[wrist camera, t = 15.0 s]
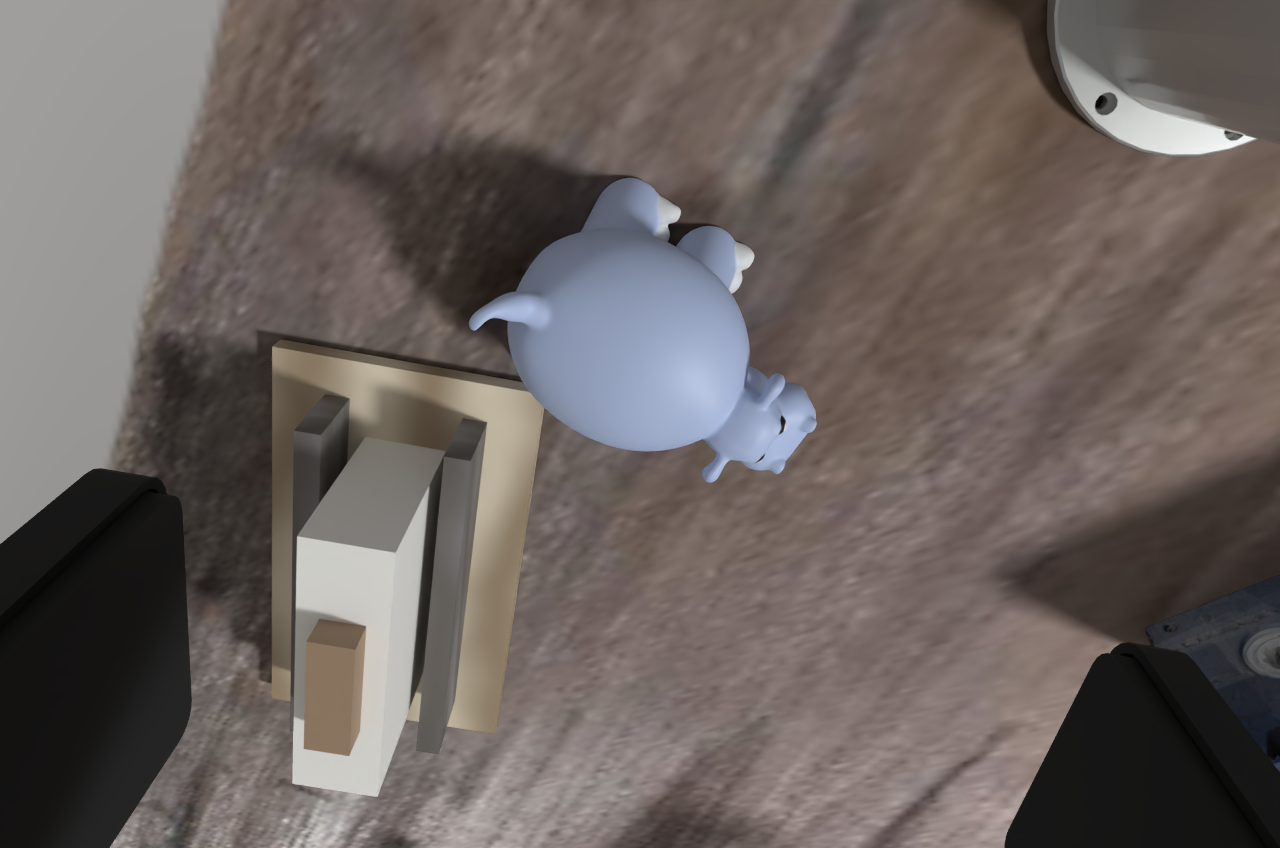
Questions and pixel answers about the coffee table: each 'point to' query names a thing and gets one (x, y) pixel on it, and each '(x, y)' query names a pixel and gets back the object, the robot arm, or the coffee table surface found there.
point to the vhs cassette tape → (1236, 654)
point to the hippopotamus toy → (649, 338)
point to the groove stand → (467, 522)
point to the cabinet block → (363, 614)
